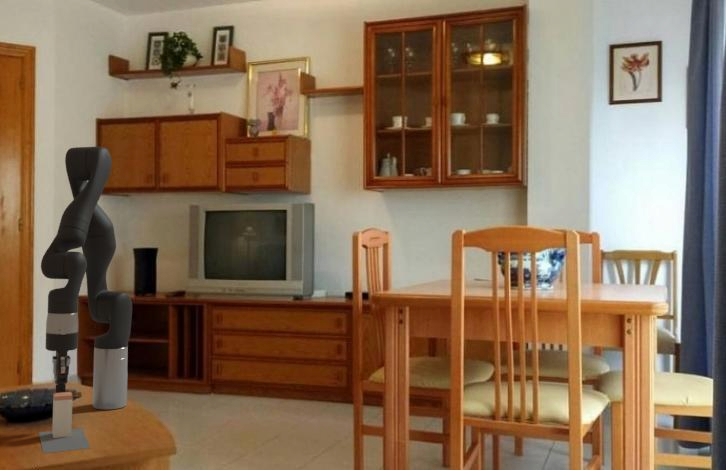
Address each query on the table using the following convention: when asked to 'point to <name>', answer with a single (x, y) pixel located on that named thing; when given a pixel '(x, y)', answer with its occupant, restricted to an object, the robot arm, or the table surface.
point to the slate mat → (63, 441)
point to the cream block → (62, 414)
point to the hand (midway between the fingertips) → (60, 399)
